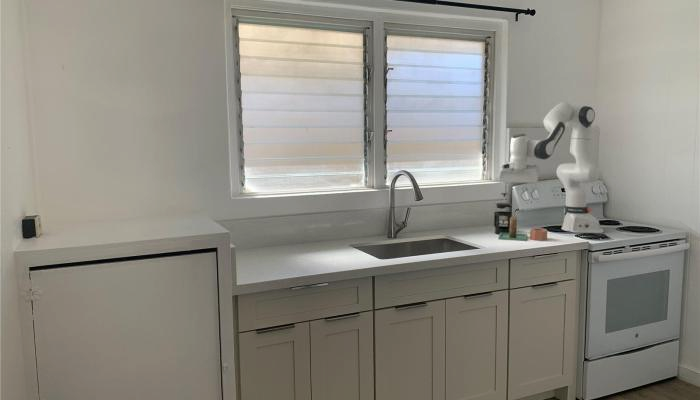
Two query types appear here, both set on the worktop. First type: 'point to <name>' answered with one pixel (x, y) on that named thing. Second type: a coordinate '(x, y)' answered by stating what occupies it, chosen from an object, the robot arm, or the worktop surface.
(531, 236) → the cup
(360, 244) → the worktop surface
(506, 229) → the french press
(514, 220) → the dowel
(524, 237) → the tray
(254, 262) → the worktop surface
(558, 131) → the robot arm
